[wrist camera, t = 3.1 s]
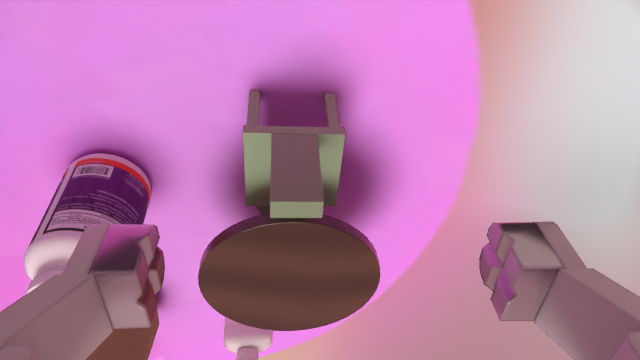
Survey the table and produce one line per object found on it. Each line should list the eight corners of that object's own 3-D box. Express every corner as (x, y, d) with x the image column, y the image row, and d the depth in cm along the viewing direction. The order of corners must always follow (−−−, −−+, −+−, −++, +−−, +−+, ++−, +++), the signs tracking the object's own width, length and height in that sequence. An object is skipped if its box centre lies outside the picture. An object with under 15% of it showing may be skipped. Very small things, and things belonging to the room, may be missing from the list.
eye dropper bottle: (265, 303, 64) (262, 393, 55) (224, 294, 62) (215, 386, 53) (277, 284, 62) (277, 376, 53) (235, 275, 60) (227, 368, 51)
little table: (204, 133, 45) (188, 221, 37) (374, 136, 46) (394, 222, 38) (217, 244, 56) (206, 332, 47) (354, 244, 57) (367, 329, 49)
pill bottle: (115, 218, 52) (73, 342, 41) (49, 173, 47) (-18, 300, 36) (170, 185, 49) (140, 308, 38) (106, 134, 44) (51, 258, 34)
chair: (246, 87, 42) (236, 201, 32) (337, 90, 43) (356, 202, 32) (249, 158, 47) (241, 275, 37) (330, 159, 48) (344, 274, 38)
